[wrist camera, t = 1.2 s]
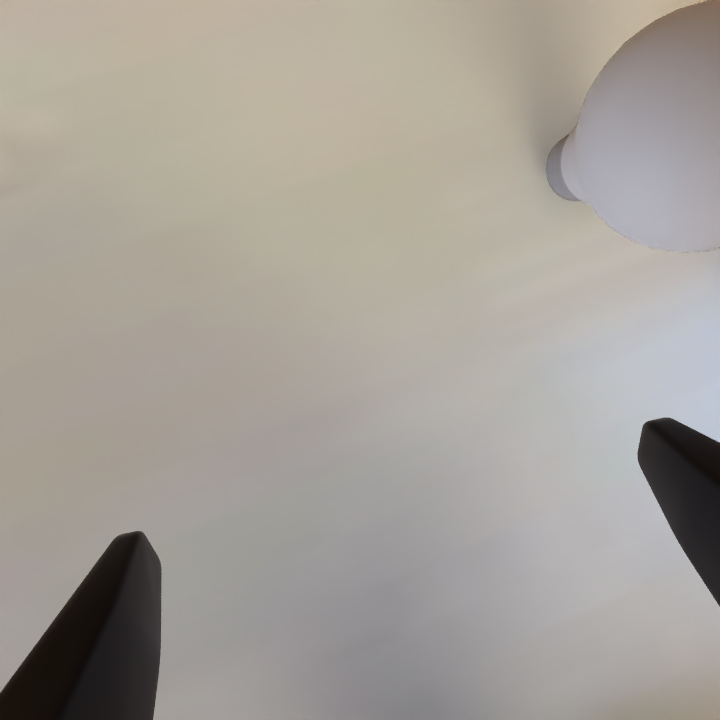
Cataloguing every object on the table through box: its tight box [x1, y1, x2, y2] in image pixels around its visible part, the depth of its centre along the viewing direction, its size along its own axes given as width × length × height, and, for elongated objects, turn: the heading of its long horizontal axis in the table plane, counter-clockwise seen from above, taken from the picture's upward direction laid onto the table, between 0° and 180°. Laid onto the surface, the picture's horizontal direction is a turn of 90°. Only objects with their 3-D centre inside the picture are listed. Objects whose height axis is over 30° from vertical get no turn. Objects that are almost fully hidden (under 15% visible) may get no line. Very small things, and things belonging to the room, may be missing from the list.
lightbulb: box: [546, 0, 720, 252], centre depth 17 cm, size 6×6×11 cm
